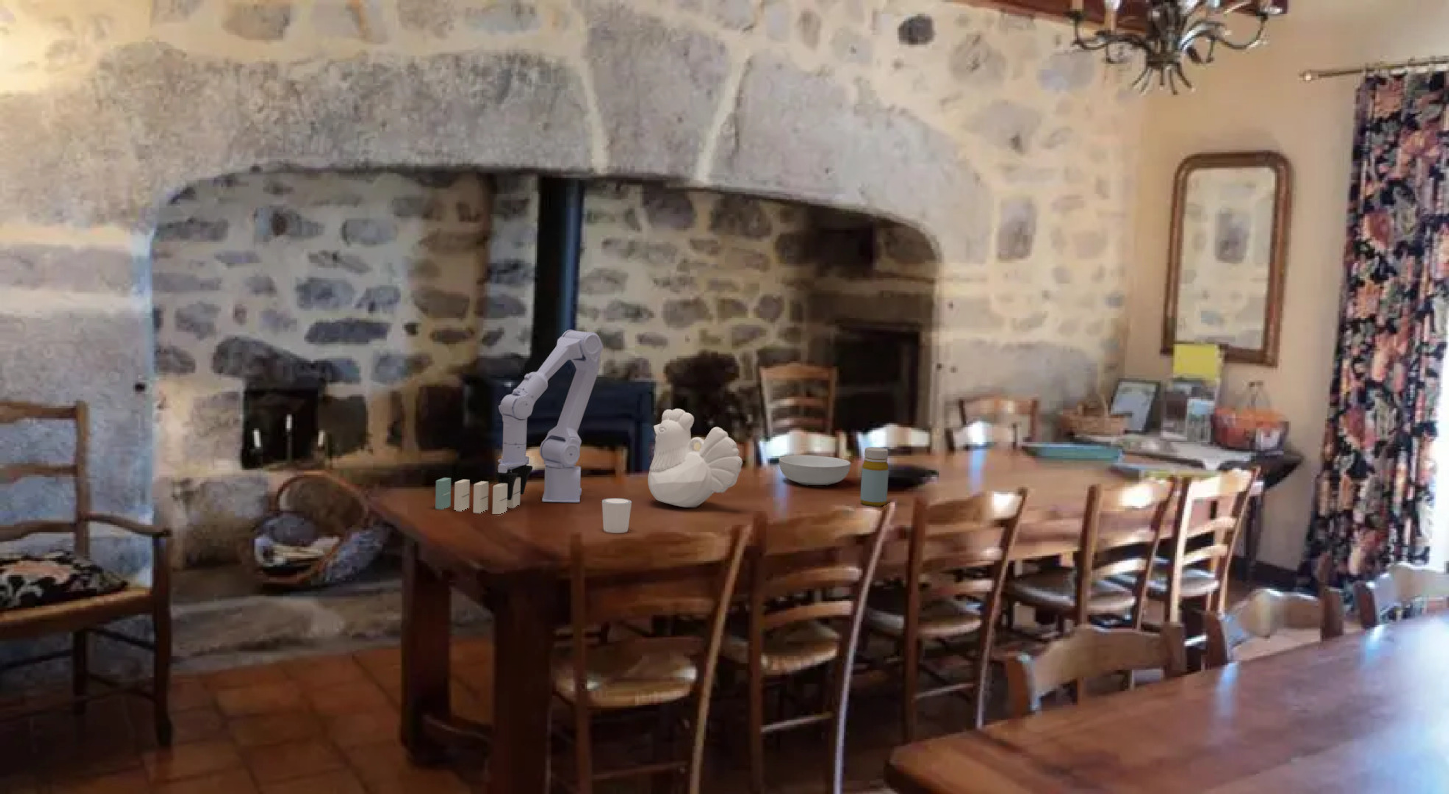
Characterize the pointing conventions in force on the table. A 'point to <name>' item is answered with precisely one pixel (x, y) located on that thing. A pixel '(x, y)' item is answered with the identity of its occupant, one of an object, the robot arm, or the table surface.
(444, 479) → the tile
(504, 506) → the tile
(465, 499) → the tile
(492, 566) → the table surface
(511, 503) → the lead tile
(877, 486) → the bottle
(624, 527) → the shot glass
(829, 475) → the serving bowl
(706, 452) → the decorative rooster
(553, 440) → the robot arm
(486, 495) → the tile
